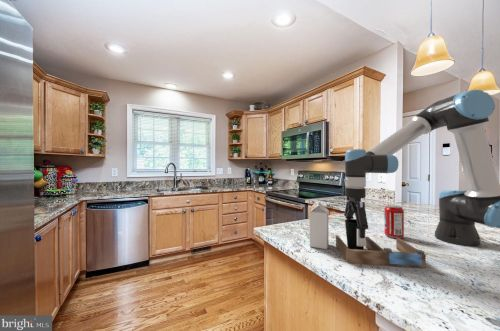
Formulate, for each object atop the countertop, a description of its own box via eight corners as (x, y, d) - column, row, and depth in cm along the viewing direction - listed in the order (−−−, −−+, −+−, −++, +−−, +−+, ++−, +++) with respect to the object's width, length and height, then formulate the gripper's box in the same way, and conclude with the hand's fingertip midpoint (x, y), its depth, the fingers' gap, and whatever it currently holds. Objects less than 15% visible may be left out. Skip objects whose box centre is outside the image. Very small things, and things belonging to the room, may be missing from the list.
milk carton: (328, 244, 92) (328, 201, 92) (327, 249, 86) (327, 203, 86) (312, 241, 95) (311, 200, 95) (309, 247, 89) (309, 202, 89)
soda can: (397, 240, 96) (397, 208, 96) (380, 235, 103) (380, 205, 103) (407, 238, 99) (407, 206, 99) (390, 233, 107) (390, 203, 107)
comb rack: (399, 249, 86) (398, 235, 86) (426, 268, 70) (426, 252, 70) (335, 245, 90) (335, 232, 90) (347, 263, 73) (347, 248, 73)
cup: (369, 255, 80) (368, 224, 80) (347, 254, 82) (347, 223, 82) (362, 247, 88) (362, 219, 88) (343, 246, 89) (342, 218, 89)
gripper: (337, 184, 97) (337, 229, 97) (356, 190, 73) (355, 251, 73) (354, 184, 96) (354, 230, 96) (379, 191, 72) (378, 252, 72)
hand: (354, 239), depth 85 cm, fingers open, 13 cm apart
